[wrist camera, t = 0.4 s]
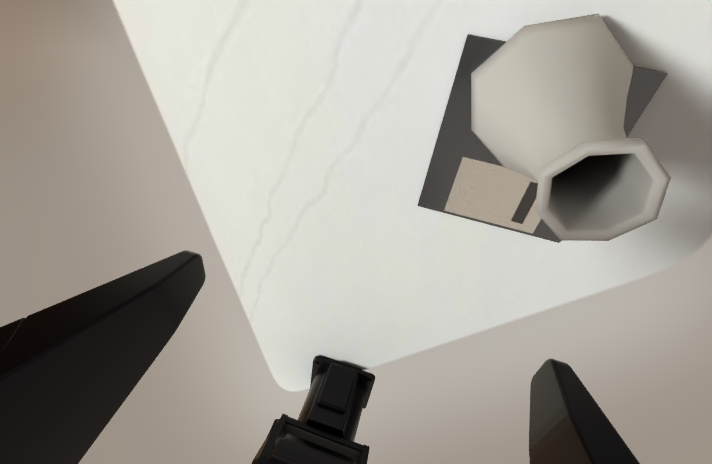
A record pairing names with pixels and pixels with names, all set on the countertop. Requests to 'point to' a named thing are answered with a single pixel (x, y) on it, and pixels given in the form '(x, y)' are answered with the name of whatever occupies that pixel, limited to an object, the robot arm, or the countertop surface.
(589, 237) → the flask
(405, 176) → the countertop surface
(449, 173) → the floppy disk
